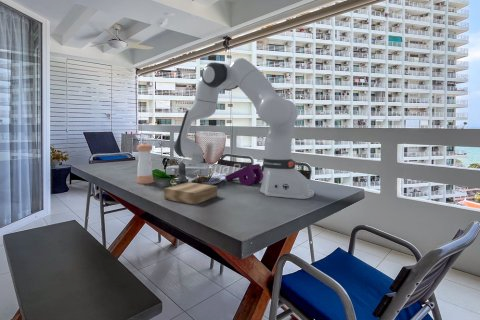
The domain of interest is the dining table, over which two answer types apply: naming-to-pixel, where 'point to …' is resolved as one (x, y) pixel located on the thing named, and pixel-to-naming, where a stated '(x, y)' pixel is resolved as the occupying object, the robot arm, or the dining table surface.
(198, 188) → the stand
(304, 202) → the dining table surface
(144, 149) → the salt shaker
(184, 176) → the dark grey upright piece
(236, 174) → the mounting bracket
